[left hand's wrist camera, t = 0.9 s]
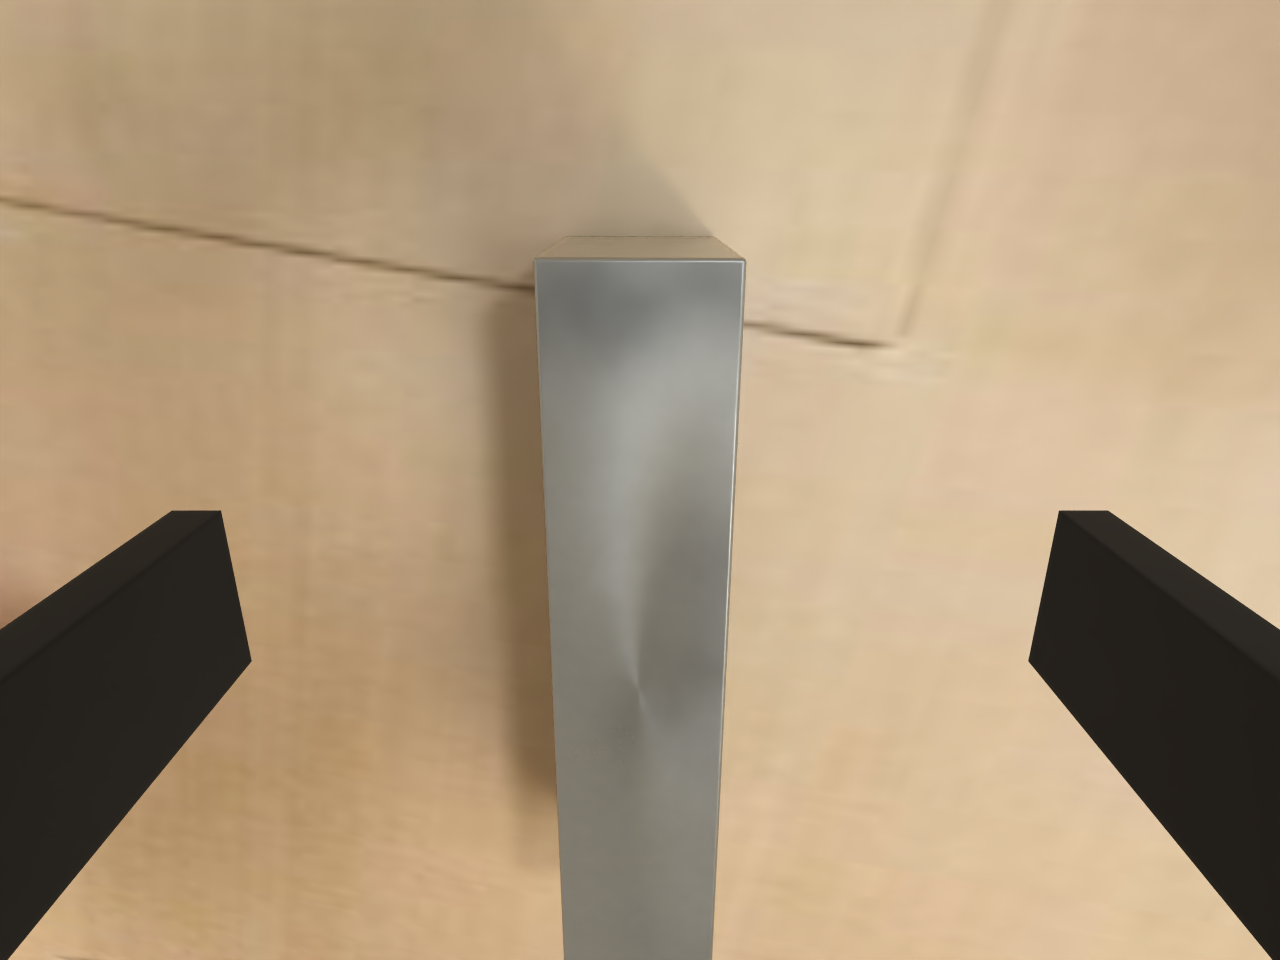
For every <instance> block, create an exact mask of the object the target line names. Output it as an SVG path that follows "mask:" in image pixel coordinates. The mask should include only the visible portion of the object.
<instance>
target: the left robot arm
mask: <svg viewBox="0 0 1280 960" xmlns="http://www.w3.org/2000/svg"><path fill="white" fill-rule="evenodd" d="M250 663H251V656H250V651H249V646H248V641H247V636H246V631H245V626H244V621H243V617H242V612H241V607H240V602H239V597H238V592H237V587H236V582H235V577H234V572H233V568H232V563H231V558H230V553H229V548H228V543H227V538H226V533H225V528H224V523H223V518H222V514H221V511H171V512H169V513H168V514H166V515H165V516H164V517H162V518H161V519H159V520H158V521H156V522H155V523H153V524H152V525H151V526H149V527H148V528H146V529H145V530H143V531H142V532H140V533H139V534H138V535H136V536H135V537H133V538H132V539H130V540H129V541H128V542H126V543H125V544H123V545H122V546H120V547H119V548H117V549H116V550H115V551H113V552H112V553H110V554H109V555H107V556H106V557H104V558H103V559H102V560H100V561H99V562H97V563H96V564H94V565H93V566H91V567H90V568H89V569H87V570H86V571H84V572H83V573H81V574H80V575H78V576H77V577H76V578H74V579H73V580H71V581H70V582H68V583H67V584H66V585H64V586H63V587H61V588H60V589H58V590H57V591H55V592H54V593H53V594H51V595H50V596H48V597H47V598H45V599H44V600H42V601H41V602H40V603H38V604H37V605H35V606H34V607H32V608H31V609H29V610H28V611H27V612H25V613H24V614H22V615H21V616H19V617H18V618H16V619H15V620H14V621H12V622H11V623H9V624H8V625H6V626H5V627H4V628H2V629H1V630H0V960H8V959H9V957H10V956H11V955H12V954H13V952H14V951H15V950H16V949H17V948H18V946H19V945H20V944H21V943H22V941H23V940H24V939H25V938H26V937H27V935H28V934H29V933H30V932H31V930H32V929H33V928H34V927H35V926H36V924H37V923H38V922H39V921H40V919H41V918H42V917H43V916H44V915H45V913H46V912H47V911H48V910H49V908H50V907H51V906H52V905H53V904H54V902H55V901H56V900H57V899H58V897H59V896H60V895H61V894H62V892H63V891H64V890H65V889H66V888H67V886H68V885H69V884H70V883H71V881H72V880H73V879H74V878H75V877H76V875H77V874H78V873H79V872H80V870H81V869H82V868H83V867H84V866H85V864H86V863H87V862H88V861H89V859H90V858H91V857H92V856H93V855H94V853H95V852H96V851H97V850H98V848H99V847H100V846H101V845H102V844H103V842H104V841H105V840H106V839H107V837H108V836H109V835H110V834H111V833H112V831H113V830H114V829H115V828H116V826H117V825H118V824H119V823H120V822H121V820H122V819H123V818H124V817H125V815H126V814H127V813H128V812H129V811H130V809H131V808H132V807H133V806H134V804H135V803H136V802H137V801H138V800H139V798H140V797H141V796H142V795H143V793H144V792H145V791H146V790H147V789H148V787H149V786H150V785H151V784H152V782H153V781H154V780H155V779H156V778H157V776H158V775H159V774H160V773H161V771H162V770H163V769H164V768H165V766H166V765H167V764H168V763H169V762H170V760H171V759H172V758H173V757H174V755H175V754H176V753H177V752H178V751H179V749H180V748H181V747H182V746H183V744H184V743H185V742H186V741H187V740H188V738H189V737H190V736H191V735H192V733H193V732H194V731H195V730H196V729H197V727H198V726H199V725H200V724H201V722H202V721H203V720H204V719H205V718H206V716H207V715H208V714H209V713H210V711H211V710H212V709H213V708H214V707H215V705H216V704H217V703H218V702H219V700H220V699H221V698H222V697H223V696H224V694H225V693H226V692H227V691H228V689H229V688H230V687H231V686H232V685H233V683H234V682H235V681H236V680H237V678H238V677H239V676H240V675H241V674H242V672H243V671H244V670H245V669H246V667H247V666H248V665H249V664H250ZM1029 663H1030V664H1031V665H1032V666H1033V667H1034V669H1035V670H1036V671H1037V672H1038V674H1039V675H1040V676H1041V677H1042V678H1043V680H1044V681H1045V682H1046V683H1047V685H1048V686H1049V687H1050V688H1051V689H1052V691H1053V692H1054V693H1055V694H1056V696H1057V697H1058V698H1059V699H1060V700H1061V702H1062V703H1063V704H1064V705H1065V707H1066V708H1067V709H1068V710H1069V711H1070V713H1071V714H1072V715H1073V716H1074V718H1075V719H1076V720H1077V721H1078V722H1079V724H1080V725H1081V726H1082V727H1083V729H1084V730H1085V731H1086V732H1087V733H1088V735H1089V736H1090V737H1091V738H1092V740H1093V741H1094V742H1095V743H1096V744H1097V746H1098V747H1099V748H1100V749H1101V751H1102V752H1103V753H1104V754H1105V755H1106V757H1107V758H1108V759H1109V760H1110V762H1111V763H1112V764H1113V765H1114V766H1115V768H1116V769H1117V770H1118V771H1119V773H1120V774H1121V775H1122V776H1123V778H1124V779H1125V780H1126V781H1127V782H1128V784H1129V785H1130V786H1131V787H1132V789H1133V790H1134V791H1135V792H1136V793H1137V795H1138V796H1139V797H1140V798H1141V800H1142V801H1143V802H1144V803H1145V804H1146V806H1147V807H1148V808H1149V809H1150V811H1151V812H1152V813H1153V814H1154V815H1155V817H1156V818H1157V819H1158V820H1159V822H1160V823H1161V824H1162V825H1163V826H1164V828H1165V829H1166V830H1167V831H1168V833H1169V834H1170V835H1171V836H1172V837H1173V839H1174V840H1175V841H1176V842H1177V844H1178V845H1179V846H1180V847H1181V848H1182V850H1183V851H1184V852H1185V853H1186V855H1187V856H1188V857H1189V858H1190V859H1191V861H1192V862H1193V863H1194V864H1195V866H1196V867H1197V868H1198V869H1199V870H1200V872H1201V873H1202V874H1203V875H1204V877H1205V878H1206V879H1207V880H1208V881H1209V883H1210V884H1211V885H1212V886H1213V888H1214V889H1215V890H1216V891H1217V892H1218V894H1219V895H1220V896H1221V897H1222V899H1223V900H1224V901H1225V902H1226V904H1227V905H1228V906H1229V907H1230V908H1231V910H1232V911H1233V912H1234V913H1235V915H1236V916H1237V917H1238V918H1239V919H1240V921H1241V922H1242V923H1243V924H1244V926H1245V927H1246V928H1247V929H1248V930H1249V932H1250V933H1251V934H1252V935H1253V937H1254V938H1255V939H1256V940H1257V941H1258V943H1259V944H1260V945H1261V946H1262V948H1263V949H1264V950H1265V951H1266V952H1267V954H1268V955H1269V956H1270V957H1271V959H1272V960H1280V630H1279V629H1278V628H1276V627H1275V626H1274V625H1272V624H1271V623H1269V622H1268V621H1266V620H1265V619H1264V618H1262V617H1261V616H1259V615H1258V614H1256V613H1255V612H1253V611H1252V610H1251V609H1249V608H1248V607H1246V606H1245V605H1243V604H1242V603H1240V602H1239V601H1238V600H1236V599H1235V598H1233V597H1232V596H1230V595H1229V594H1227V593H1226V592H1225V591H1223V590H1222V589H1220V588H1219V587H1217V586H1216V585H1214V584H1213V583H1212V582H1210V581H1209V580H1207V579H1206V578H1204V577H1203V576H1202V575H1200V574H1199V573H1197V572H1196V571H1194V570H1193V569H1191V568H1190V567H1189V566H1187V565H1186V564H1184V563H1183V562H1181V561H1180V560H1178V559H1177V558H1176V557H1174V556H1173V555H1171V554H1170V553H1168V552H1167V551H1165V550H1164V549H1163V548H1161V547H1160V546H1158V545H1157V544H1155V543H1154V542H1152V541H1151V540H1150V539H1148V538H1147V537H1145V536H1144V535H1142V534H1141V533H1140V532H1138V531H1137V530H1135V529H1134V528H1132V527H1131V526H1129V525H1128V524H1127V523H1125V522H1124V521H1122V520H1121V519H1119V518H1118V517H1116V516H1115V515H1114V514H1112V513H1111V512H1109V511H1059V514H1058V518H1057V523H1056V528H1055V533H1054V538H1053V543H1052V548H1051V553H1050V558H1049V563H1048V567H1047V572H1046V577H1045V582H1044V587H1043V592H1042V597H1041V602H1040V607H1039V612H1038V617H1037V621H1036V626H1035V631H1034V636H1033V641H1032V646H1031V651H1030V656H1029Z"/></svg>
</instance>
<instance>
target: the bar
mask: <svg viewBox="0 0 1280 960" xmlns="http://www.w3.org/2000/svg"><path fill="white" fill-rule="evenodd" d="M533 263H534V286H535V309H536V332H537V355H538V377H539V400H540V423H541V446H542V468H543V491H544V514H545V537H546V560H547V582H548V605H549V628H550V651H551V673H552V696H553V719H554V742H555V765H556V787H557V810H558V833H559V856H560V878H561V901H562V924H563V947H564V960H712V949H713V929H714V909H715V888H716V868H717V848H718V827H719V807H720V787H721V766H722V746H723V726H724V705H725V685H726V665H727V644H728V624H729V604H730V583H731V563H732V543H733V522H734V502H735V481H736V461H737V441H738V420H739V400H740V380H741V359H742V339H743V319H744V298H745V278H746V260H745V259H744V258H743V257H742V256H740V255H739V254H738V253H736V252H735V251H733V250H732V249H731V248H729V247H728V246H727V245H725V244H724V243H723V242H721V241H720V240H719V239H717V238H715V237H565V238H563V239H562V240H561V241H559V242H558V243H556V244H555V245H553V246H552V247H550V248H549V249H548V250H546V251H545V252H543V253H542V254H540V255H539V256H537V257H536V258H534V261H533Z"/></svg>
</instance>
